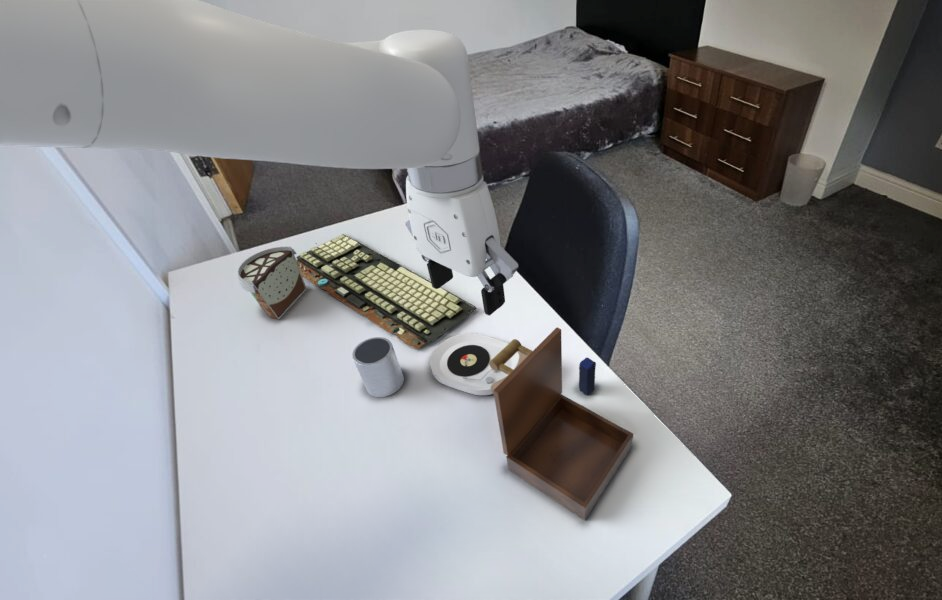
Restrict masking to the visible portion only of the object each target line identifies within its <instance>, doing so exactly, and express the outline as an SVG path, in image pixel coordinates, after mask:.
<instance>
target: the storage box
mask: <svg viewBox="0 0 942 600" xmlns="http://www.w3.org/2000/svg"><path fill="white" fill-rule="evenodd" d="M633 441H634V433H633V432H631V431H630V430H627V429H626V428H624V427H622V426H620V425H618V424H617V423H615V422H613V421H611V420H609V419H608V418H606V417H604V416H602V415H600V414H598V413H596V412H595V411H593V410H591V409H589V408H587V407H585V406H584V405H582V404H580V403H578V402H576V401H574V400H572V399H571V398H569V397H568V396H565V395H564V394H562V393H561V395H560V396H559V397H558V398H557V399H556V400H555V402H554V403H553V404H552V405H551V406H550V407H549V409H548V410H547V411H546V412H545V413H544V414H543V416H542V417H541V418H540V419H539V420H538V421H537V423H536V424H535V425H534V426H533V427H532V428H531V430H530V431H529V432H528V433H527V434H526V435H525V437H524V438H523V439H522V440H521V441H520V442H519V444H518V445H517V446H516V447H515V448H514V449H513V451H512V452H511V453H510V454H509V455H508V456H507V455H506V457H505V459H506V465H507V470H508V471H510V473H512V474H514V475H515V476H517V477H519V479H521V480H523V481H525V483H527V484H529V485H530V486H532V487H534V488H535V489H537V490H538V491H540V492H541V493H542V494H544V495H545V496H547V497H548V498H550V499H552V500H553V501H554V502H556V503H558V504H559V505H561V506H562V507H563V508H565V509H567V510H568V511H570V512H571V513H573V514H574V515H575V516H577V517H578V518H580V519H581V520H583V521H585V520H586V519H587V517H588V516H589V515H590V513H591V511H592V510H593V508H594V507H595V505H596V503H597V502H598V500H599V499H600V497H601V495H602V494H603V493H604V491H605V490H606V488H607V486H608V485H609V483H610V482H611V481H612V479H613V477H614V475H615V474H616V473H617V472H618V469H619V468H620V466H621V464H622V463H623V461H624V460H625V458H626V457H627V455H628V454H629V452H630V451H631V449H632V447H633Z"/></svg>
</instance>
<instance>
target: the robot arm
mask: <svg viewBox="0 0 942 600" xmlns="http://www.w3.org/2000/svg"><path fill="white" fill-rule="evenodd" d="M475 111H476V109H475V104H474V95H473V88H472V80H471V72H470V63H469V57H468V52H467V48H466V47H465V44H464V42H463V41H462V40H461V38H459V37H458V36H457V35H455V34H454V33H451V32H447V31H445V30H439V29H411V30H404V31H399V32H395V33H393V34H390V35H388V36H387V37H385V38H383V39H380V40H370V41H358V42H357V41H355V42H343V41H338V40H334V39H331V38H326V37H322V36H319V35H315V34H311V33H307V32H304V31H300V30H296V29H293V28H289V27H286V26H282V25H278V24H275V23H271V22H267V21H264V20H260V19H258V18H254V17H250V16H247V15H245V14H241V13H238V12H235V11H232V10H229V9H226V8H224V7H220V6H218V5H215V4H212V3H209V2H206V1H202V0H0V147H25V148H26V147H27V148H28V147H29V148H61V149H62V148H63V149H64V148H65V149H66V148H67V149H68V148H69V149H94V150H96V149H97V150H99V149H101V150H127V151H128V150H129V151H130V150H131V151H151V152H152V151H153V152H168V153H175V154H184V155H190V156H197V157H198V156H199V157H204V158H214V159H223V160H224V159H225V160H227V159H228V160H243V161H258V162H273V163H281V164H282V163H283V164H292V165H302V166H312V167H313V166H314V167H326V168H335V169H353V170H401V169H402V170H404V169H405V170H406V173H407V176H406V178H405V197H406V207H407V213H408V219H409V220H407V221H405V227H406V228H407V230H408V232H409V233H410V234H411V236H412V238H413V242H414V246H415V249H416V250H417V251H418V252H419V254H420V255H421V259H422V260H423V262H425V263H426V268H427V271H428V276H429V281H430V282H431V284H432V287H433V288H435V289H438V288H440V287H441V288H442V287H443V286H444V285H446V284H447V283H449V282H450V281H451V280H452V279H453V278H454V273H453V271H455V272H457V273H459V274H461V275H464V276H466V277H470V278H476V277H477V278H478V281H480V283H481V285H482V286H483V287H482V288H481V290H480V294H481V299H482V306H483V312H484V314H485V315H486V316H492V315H493V314H494V313H495V312H496V311H497V310H498V309H500V308H501V307H503V305H504V304H505V303H506V296H505V287H504V284H505V283H506V282H508V281H509V280H510V279H512V278H513V277H514V275H515V274H516V272H517V270H519V267H520V266H519V263H518V262H517V261H516V260H515V259H514V258H513V257H512V256H511V255H510V254H509V253H508V252H507V251H506V250H505V249H504V248H503V247H502V246H501V238H500V230H499V225H498V220H497V216H496V215H497V214H496V211H495V208H494V203H493V199H492V196H491V192H490V189H489V187H488V183H487V182H486V181H484V173H483V172H484V171H483V165H482V157H481V150H480V142H479V134H478V126H477V119H476V112H475ZM489 267H490V270H492V272H493V275H494V276H492V277H491V278H490V276H489V274H488V273H487V272H486V270H487V269H488V268H489Z"/></svg>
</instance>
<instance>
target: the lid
mask: <svg viewBox="0 0 942 600" xmlns="http://www.w3.org/2000/svg"><path fill="white" fill-rule="evenodd" d="M518 351H519V352H521V353H523V354H525V355H527V357H526V358H525V359H524V360H523V361H522V362H521V363H520V364H519V365H518V366H517V367H516V368H515V369H514V370H513V369H511V368H510V367H508V366H506V365H504V364H505V363H506V362H507V361H508V360H509V359H510V358H511V357H512V356H513V355H514V354H515V353H516V352H518ZM562 355H563V354H562V329H561V328H560V327H556V328H554V329H553V330H552V331H551V332H550V333H549V334H548V335H547V336H546V338H544V339H543V340H542V341H541V342H540V343H539V344H538V345H537V346H536V347H535V348H534V349H533V350H531V349H529V348H527V347H526V346H523V345H522V343H521V341H519V340H518V339H516V338H513V339H512V340H511V341H510V342H509V344H508V345H507V346H506V347H505V348H504V349H503V350H501V351H500V352H499V353H498V354H497V355H496V356H495V357H494V358H493V359H492V360H491V361H490V362H489V365H490V367H491V368H492V369H493V370H495V371H498V370H500V371H502V372H504V373H506V374H507V375H508V376H507V377H506V378H505V379H504V380H503V381H502V382H501V383H500V384H499V385H498V386H497V387H496V388H495V389H494V390H493V392H494V394H493V397H494V403H495V408H496V409H495V410H496V415H497V416H496V417H497V421H498V427H499V433H500V440H501V446H502V451H503V454H504V455H506V456H508V455H509V454H510V453H511V452H512V451H513V449H514V448H515V447H516V446H517V445H518V444H519V442H520V441H521V440H522V439H523V438H524V437H525V435H526V434H527V433H528V432H529V431H530V430H531V428H532V427H533V426H534V425H535V424H536V423H537V421H538V420H539V419H540V418H541V417H542V416H543V414H544V413H545V412H546V411H547V410H548V409H549V407H550V406H551V405H552V404H553V403H554V402H555V400H556V399H557V398H558V397H559V396H560V395H561V394H562V393H563V359H562V357H563V356H562Z"/></svg>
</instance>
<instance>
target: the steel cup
mask: <svg viewBox="0 0 942 600" xmlns="http://www.w3.org/2000/svg"><path fill="white" fill-rule="evenodd" d="M351 355H352V356H351V357H352V360H353V363H354V364H355V367H356V369H357V371H358V373H359V376H360V377H361V380H362V383H363V385H364V387H365V389H366V391H367V393H368V394H369V395H370V396H371V397H374V398H375V397H376V398H385V397H389V396H391V395H394V394H396V393H397V392H398V391H399V390H400V389H401V388H402V387H403V385H404V382H405V376H404V374H403V371H402V367H401V365H400V363H399V360H398V356H397V353H396V351H395V347H394V345H393V343H392V341H391V340H390V339H388V338H386V337H381V336H376V337H370V338H367V339H364V340H363V341H361V342H360V343H358V344H357V345H356V346H355V347H354V349H353V351H352V354H351Z"/></svg>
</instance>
